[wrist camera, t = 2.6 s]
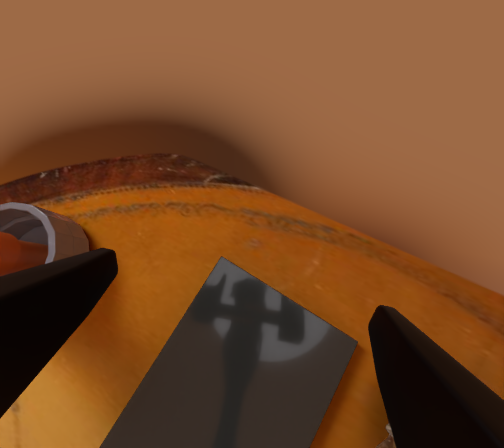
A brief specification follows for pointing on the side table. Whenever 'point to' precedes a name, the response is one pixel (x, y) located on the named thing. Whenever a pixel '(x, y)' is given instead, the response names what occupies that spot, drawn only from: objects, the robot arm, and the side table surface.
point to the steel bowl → (44, 229)
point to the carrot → (20, 254)
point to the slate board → (237, 372)
